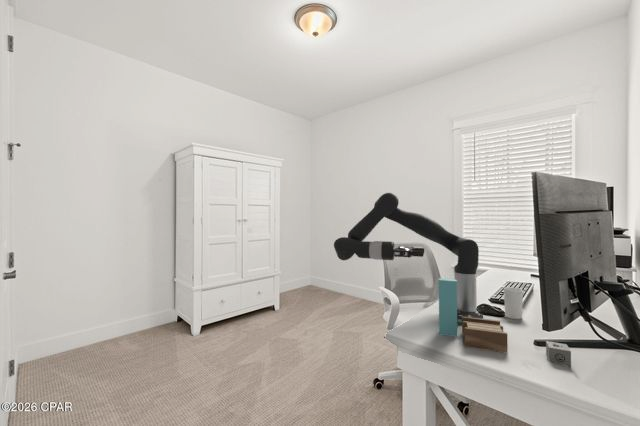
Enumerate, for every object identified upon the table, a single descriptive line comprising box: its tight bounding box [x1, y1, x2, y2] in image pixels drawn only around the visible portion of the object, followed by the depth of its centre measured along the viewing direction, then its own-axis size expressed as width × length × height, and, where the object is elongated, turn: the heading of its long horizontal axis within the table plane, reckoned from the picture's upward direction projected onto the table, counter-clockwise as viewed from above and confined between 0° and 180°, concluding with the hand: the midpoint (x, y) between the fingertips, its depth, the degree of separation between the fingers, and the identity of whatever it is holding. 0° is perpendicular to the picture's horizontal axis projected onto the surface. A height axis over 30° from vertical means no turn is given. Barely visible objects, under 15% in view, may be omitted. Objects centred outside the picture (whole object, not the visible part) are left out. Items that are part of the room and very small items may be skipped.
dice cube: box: [545, 340, 572, 369], centre depth 86 cm, size 5×5×5 cm
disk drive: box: [457, 310, 484, 327], centre depth 118 cm, size 10×3×15 cm
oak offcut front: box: [467, 325, 504, 332], centre depth 95 cm, size 2×10×6 cm, turn 68°
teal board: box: [438, 277, 458, 338], centre depth 105 cm, size 3×6×20 cm, turn 68°
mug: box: [503, 286, 524, 320], centre depth 126 cm, size 10×7×12 cm, turn 170°
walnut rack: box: [461, 316, 509, 354], centre depth 98 cm, size 12×12×7 cm
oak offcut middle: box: [467, 323, 501, 329], centre depth 97 cm, size 2×10×6 cm, turn 68°
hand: (423, 252), depth 111 cm, fingers open, 8 cm apart
